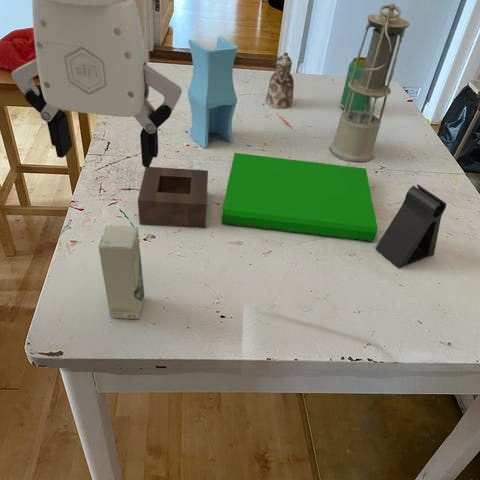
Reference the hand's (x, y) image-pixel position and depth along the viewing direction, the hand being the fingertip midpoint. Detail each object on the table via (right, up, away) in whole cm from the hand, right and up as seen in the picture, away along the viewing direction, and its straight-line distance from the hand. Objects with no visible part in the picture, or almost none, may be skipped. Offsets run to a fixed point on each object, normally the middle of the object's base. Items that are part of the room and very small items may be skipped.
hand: (106, 156), depth 54 cm
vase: (+8, +24, +56) cm, 62 cm away
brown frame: (+3, +2, +35) cm, 35 cm away
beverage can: (+47, +39, +76) cm, 97 cm away
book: (+27, +5, +40) cm, 49 cm away
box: (-1, -17, +16) cm, 23 cm away
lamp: (+41, +20, +57) cm, 73 cm away
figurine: (+26, +40, +74) cm, 88 cm away
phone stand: (+45, -7, +31) cm, 55 cm away
